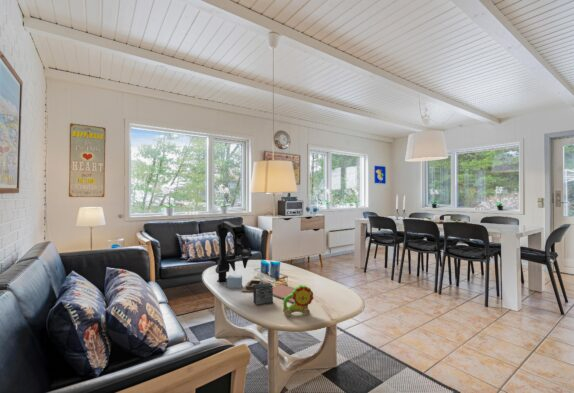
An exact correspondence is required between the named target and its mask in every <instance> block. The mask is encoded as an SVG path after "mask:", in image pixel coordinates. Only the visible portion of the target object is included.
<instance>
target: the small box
mask: <svg viewBox="0 0 574 393" xmlns="http://www.w3.org/2000/svg"><path fill="white" fill-rule="evenodd" d="M273 287H274V286H273V285H272V283H270V282H267V283H265V284H257V285H253V292H252V293H253V294H252V295H253V297H252V298H253V304H254V306H264V305H270V304H273V303H274V296H273Z"/></svg>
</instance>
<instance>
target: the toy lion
mask: <svg viewBox="0 0 574 393" xmlns="http://www.w3.org/2000/svg"><path fill="white" fill-rule="evenodd" d="M294 288H295V289H294V290H293V291H292V293H291V294H289V295H287V296H286V297H285V299H284V300H283V313H284V316H285V317H286V318H289V317H291V316H292V314H293V313H296V312H297V313H302V315H304V316H306V317H307V316H309V315H310V313H311V311H310V309H309V305H311V304H312V301H314V292H313V290H312V289H311V288H310V287H309V286H306V285H302V284H300V285H298V286H296V287H294ZM289 299H294V300H295V303H291V304H290V306H287V304H288V302H289V301H288V300H289Z"/></svg>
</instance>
